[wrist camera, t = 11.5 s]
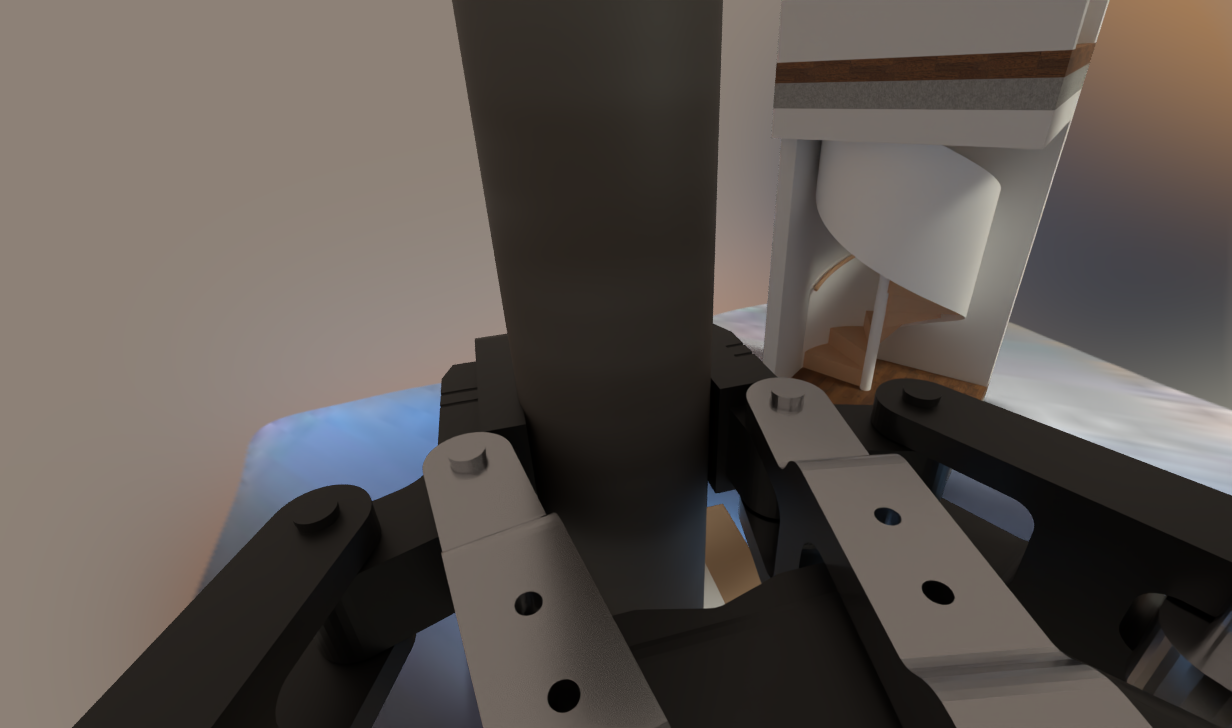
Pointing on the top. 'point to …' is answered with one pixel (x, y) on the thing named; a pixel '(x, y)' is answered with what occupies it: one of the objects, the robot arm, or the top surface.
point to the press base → (726, 560)
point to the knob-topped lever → (607, 266)
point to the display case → (913, 181)
